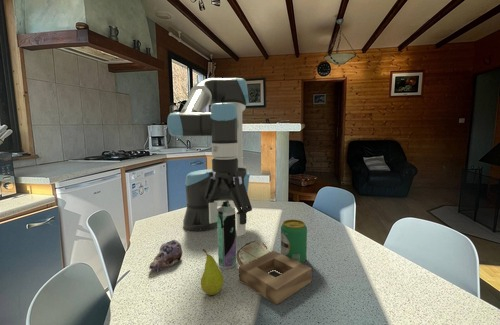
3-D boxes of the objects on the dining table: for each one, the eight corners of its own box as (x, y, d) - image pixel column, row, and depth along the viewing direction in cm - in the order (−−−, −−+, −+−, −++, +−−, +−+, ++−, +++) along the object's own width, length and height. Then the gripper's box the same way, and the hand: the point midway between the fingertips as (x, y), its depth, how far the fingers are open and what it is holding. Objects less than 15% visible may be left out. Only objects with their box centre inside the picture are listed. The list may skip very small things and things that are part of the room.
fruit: (227, 295, 68) (226, 250, 67) (206, 303, 65) (204, 256, 64) (217, 283, 73) (216, 241, 71) (197, 291, 70) (195, 247, 68)
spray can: (233, 269, 80) (232, 204, 77) (216, 268, 81) (214, 203, 78) (238, 260, 85) (237, 199, 83) (221, 259, 87) (220, 198, 84)
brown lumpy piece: (158, 276, 77) (156, 256, 76) (140, 269, 81) (138, 250, 80) (187, 258, 87) (186, 240, 86) (170, 253, 91) (169, 235, 90)
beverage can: (276, 256, 88) (276, 221, 86) (297, 251, 91) (297, 217, 89) (289, 268, 81) (289, 230, 79) (311, 262, 84) (312, 225, 82)
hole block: (238, 280, 75) (238, 266, 74) (273, 262, 84) (273, 250, 83) (276, 305, 64) (276, 289, 64) (311, 281, 74) (311, 268, 73)
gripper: (191, 155, 85) (194, 220, 88) (243, 162, 67) (244, 244, 70) (211, 153, 90) (213, 215, 93) (264, 160, 72) (264, 236, 75)
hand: (226, 228), depth 81 cm, fingers open, 13 cm apart
